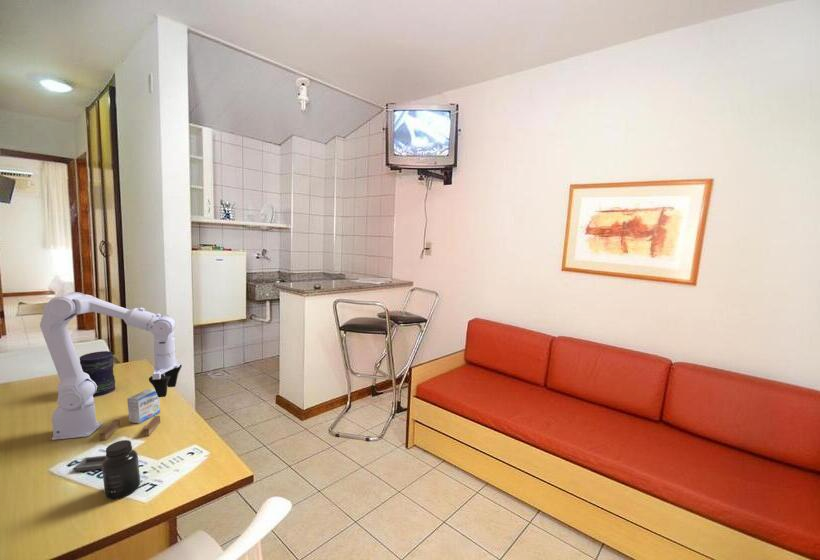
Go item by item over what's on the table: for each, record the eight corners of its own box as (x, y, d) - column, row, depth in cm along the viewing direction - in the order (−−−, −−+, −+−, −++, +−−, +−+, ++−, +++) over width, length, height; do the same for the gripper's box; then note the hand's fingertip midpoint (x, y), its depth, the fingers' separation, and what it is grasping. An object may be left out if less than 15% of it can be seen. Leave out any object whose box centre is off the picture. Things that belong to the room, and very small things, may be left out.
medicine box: (139, 424, 116) (137, 399, 115) (128, 422, 117) (126, 397, 116) (160, 412, 124) (159, 389, 123) (150, 411, 125) (148, 387, 124)
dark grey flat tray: (74, 472, 93) (74, 468, 93) (85, 461, 97) (85, 457, 97) (114, 467, 95) (114, 463, 95) (123, 457, 99) (123, 453, 99)
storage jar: (119, 390, 140) (117, 354, 138) (87, 399, 132) (84, 361, 130) (110, 384, 145) (107, 349, 143) (78, 393, 137) (75, 356, 135)
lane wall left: (100, 440, 107) (99, 433, 106) (114, 426, 114) (114, 419, 114) (105, 440, 107) (105, 432, 107) (120, 426, 115) (119, 419, 114)
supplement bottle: (118, 481, 90) (114, 437, 89) (146, 480, 91) (143, 436, 89) (97, 501, 83) (92, 454, 82) (127, 500, 84) (124, 453, 82)
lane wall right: (143, 436, 110) (143, 429, 109) (155, 423, 117) (154, 416, 117) (149, 436, 110) (148, 428, 110) (160, 422, 118) (160, 415, 117)
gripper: (169, 359, 111) (171, 400, 113) (186, 345, 125) (188, 381, 126) (143, 360, 109) (146, 402, 111) (164, 346, 123) (166, 383, 125)
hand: (167, 391), depth 119 cm, fingers open, 7 cm apart
